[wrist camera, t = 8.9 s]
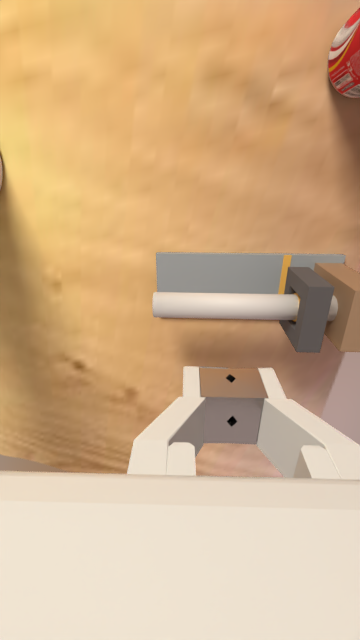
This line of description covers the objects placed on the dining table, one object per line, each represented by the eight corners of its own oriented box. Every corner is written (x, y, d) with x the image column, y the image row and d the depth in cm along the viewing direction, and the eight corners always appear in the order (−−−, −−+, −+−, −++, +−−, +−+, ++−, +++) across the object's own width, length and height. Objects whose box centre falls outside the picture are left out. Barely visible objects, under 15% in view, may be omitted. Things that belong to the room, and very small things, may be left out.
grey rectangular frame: (279, 322, 40) (296, 351, 33) (288, 266, 37) (309, 286, 30) (298, 322, 40) (319, 352, 33) (308, 267, 37) (334, 287, 30)
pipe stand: (158, 312, 45) (146, 354, 34) (156, 252, 41) (142, 278, 30) (328, 315, 44) (372, 360, 33) (342, 254, 40) (397, 281, 29)
